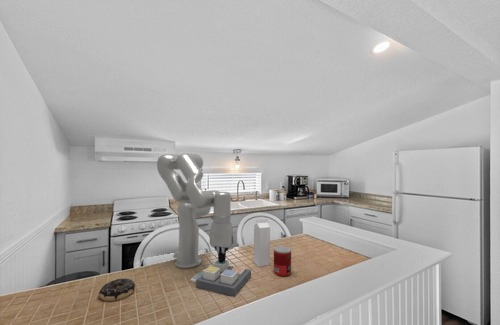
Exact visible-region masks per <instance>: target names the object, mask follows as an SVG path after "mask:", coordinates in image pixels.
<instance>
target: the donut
mask: <svg viewBox="0 0 500 325" xmlns="http://www.w3.org/2000/svg"><path fill="white" fill-rule="evenodd" d="M135 290H136V284H135V282H134V280H132V279H131V278H117V279H114V280H111V281H109V282H107V283H105V284H103V286H102V287H101V289H100V290H99V292H98V295H99V296H98V297H99V298H100V300H103V301H105V302H114V301H120V300H122V299H125V298H128V297H129V296H131V295H132V294H133V293H134V292H135Z"/></svg>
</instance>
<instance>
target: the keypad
mask: <svg viewBox="0 0 500 325" xmlns="http://www.w3.org/2000/svg"><path fill="white" fill-rule="evenodd" d="M234 267H235V266H233V265H232V266H231V265H229V268H228V270H232V269H233V268H234ZM244 269H245V273H244V274H243V275H242V276H241V277H240V276H237V280H236V282H235V283H234V284H233V285H228V284H224V283H221V274H222V272H220V276H219V277H218V278H217V279H216V280H215V281H210V280H206V279H203V275H202V276H201V277H199V278H198V279H197V280H196V282H195V289H196V288H197V289H201V290H205V291H209V292H212V293H217V294H221V295H225V296H230V297H232V298H233V297H235V296H236V295H237V294H238V293H239V292H240V291H241V289H242V288H243V287H244V286H245V285H246V283H247V282H248V281H249V280H250V278H251V277H252V273H251V272H252V270H251V269H248V268H244Z"/></svg>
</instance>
